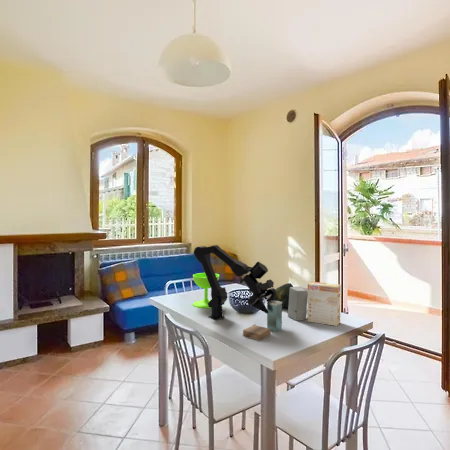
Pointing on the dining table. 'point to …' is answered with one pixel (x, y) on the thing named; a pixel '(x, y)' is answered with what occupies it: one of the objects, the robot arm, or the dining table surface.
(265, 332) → the walnut block
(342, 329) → the dining table surface
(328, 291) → the coffeecake box
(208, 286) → the wineglass
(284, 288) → the squash
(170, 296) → the dining table surface
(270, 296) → the robot arm
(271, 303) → the tea tin
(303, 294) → the skincare box
